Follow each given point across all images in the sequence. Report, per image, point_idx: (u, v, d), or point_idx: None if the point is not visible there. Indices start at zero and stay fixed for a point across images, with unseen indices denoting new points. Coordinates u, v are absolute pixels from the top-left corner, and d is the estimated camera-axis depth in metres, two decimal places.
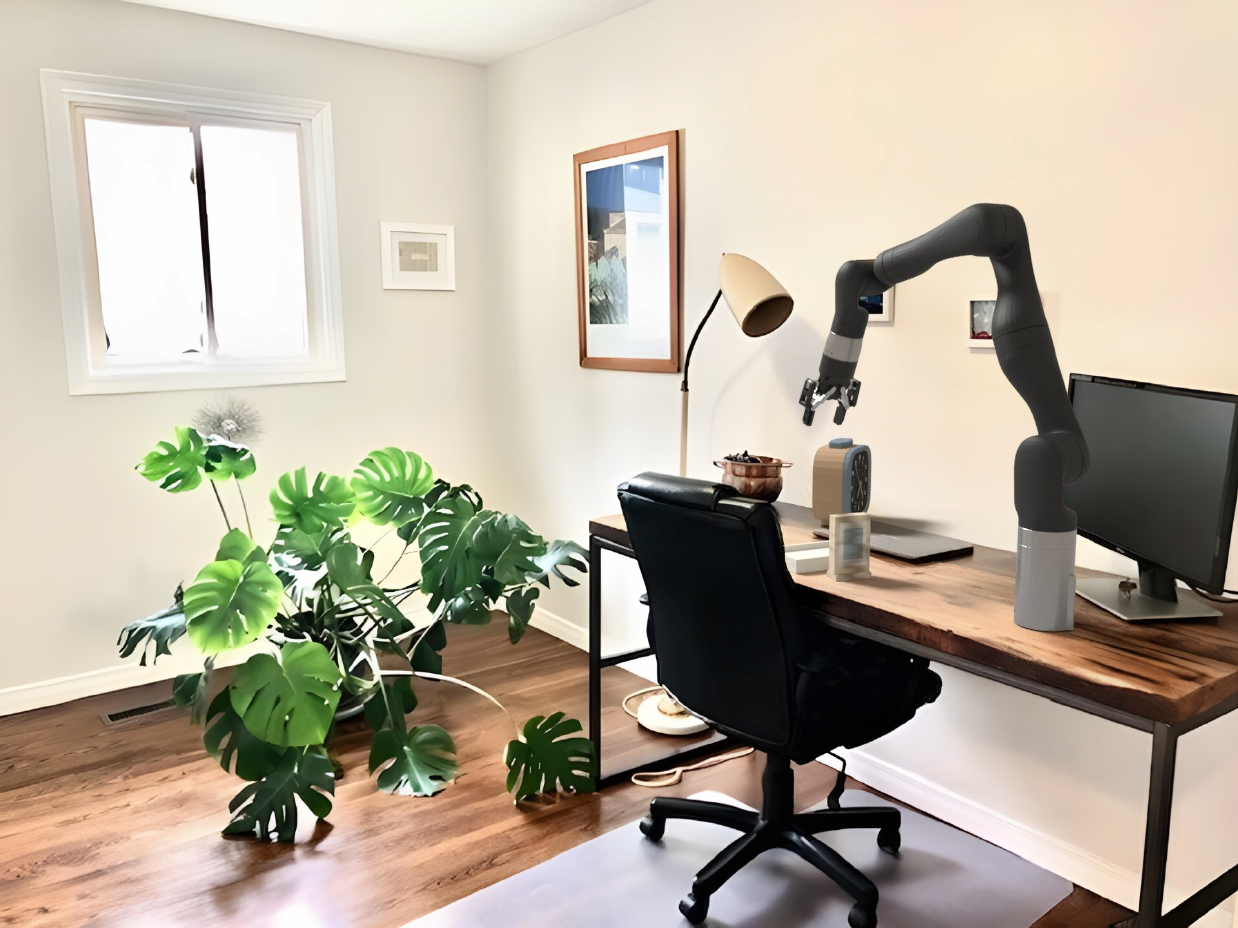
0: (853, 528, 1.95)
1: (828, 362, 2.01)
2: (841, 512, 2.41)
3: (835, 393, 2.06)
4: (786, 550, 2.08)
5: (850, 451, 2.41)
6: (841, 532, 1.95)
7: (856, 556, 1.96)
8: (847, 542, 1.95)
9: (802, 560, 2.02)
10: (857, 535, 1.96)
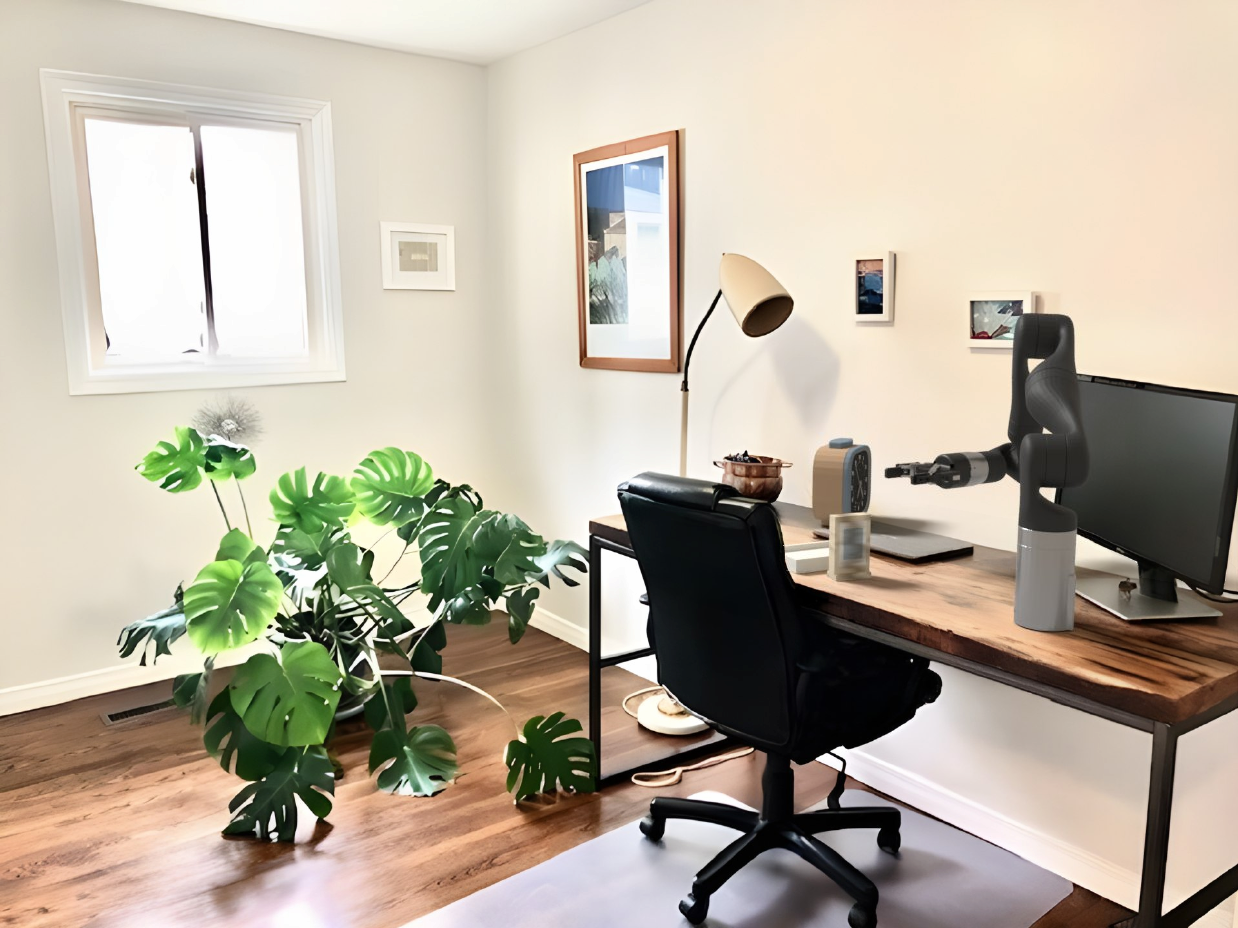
0: (853, 528, 1.95)
1: None
2: (841, 512, 2.41)
3: (930, 468, 2.02)
4: (786, 550, 2.08)
5: (850, 451, 2.41)
6: (841, 532, 1.95)
7: (856, 556, 1.96)
8: (847, 542, 1.95)
9: (802, 560, 2.02)
10: (857, 535, 1.96)
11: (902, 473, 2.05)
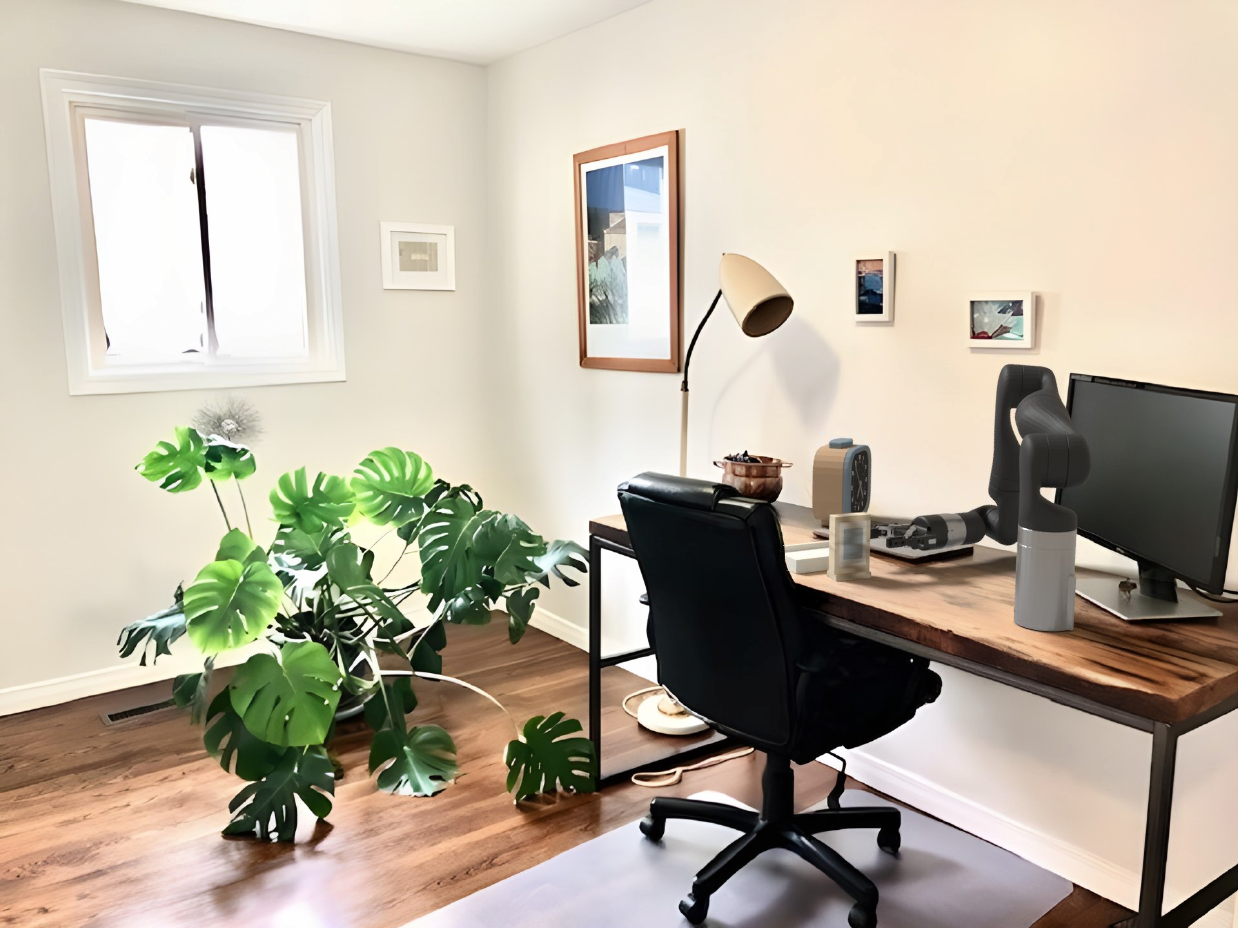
0: (853, 528, 1.95)
1: None
2: (841, 512, 2.41)
3: (907, 530, 2.02)
4: (786, 550, 2.08)
5: (850, 451, 2.41)
6: (841, 532, 1.95)
7: (856, 556, 1.96)
8: (847, 542, 1.95)
9: (802, 560, 2.02)
10: (857, 535, 1.96)
11: (879, 534, 2.05)
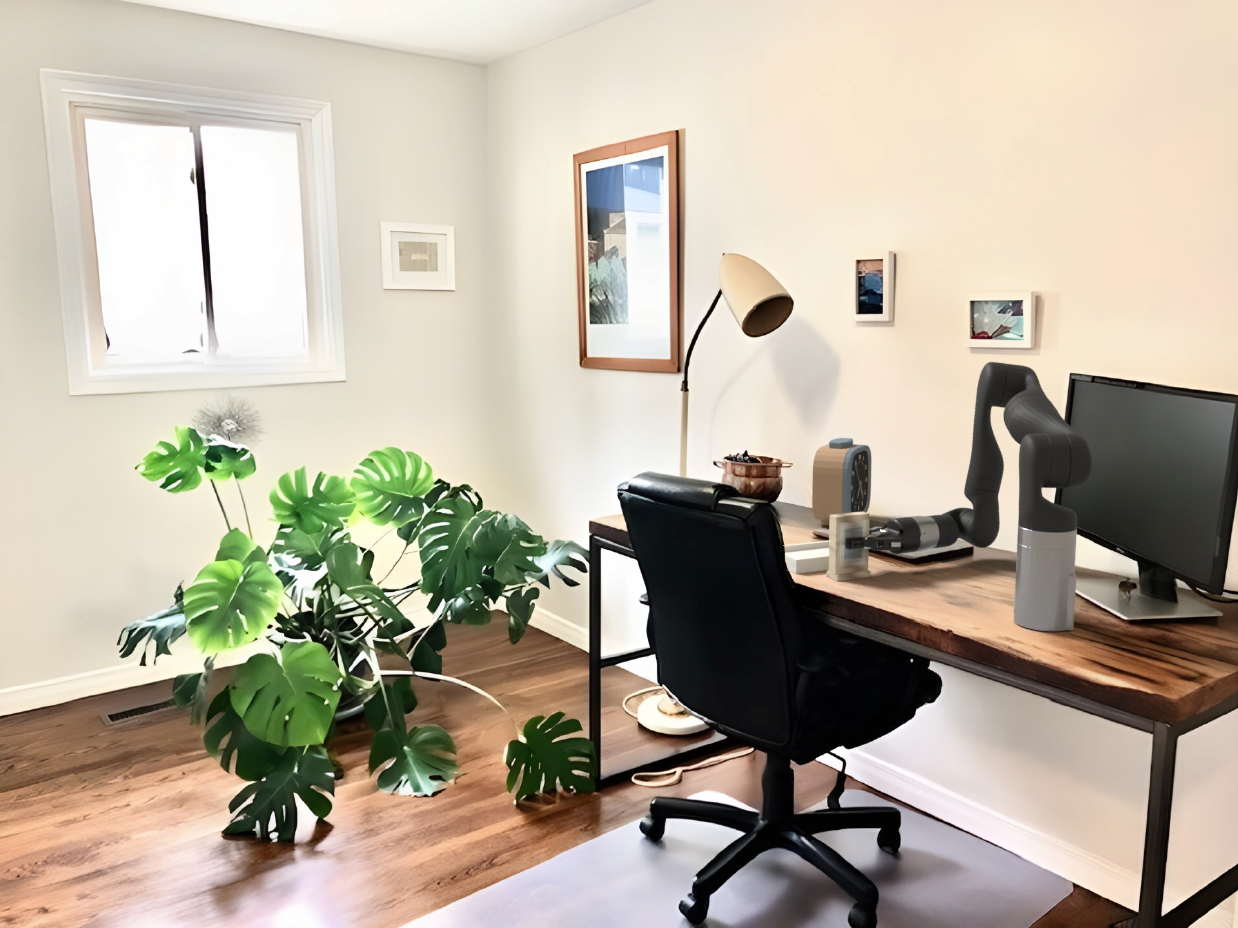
0: (853, 528, 1.96)
1: None
2: (841, 512, 2.41)
3: None
4: (786, 550, 2.08)
5: (850, 451, 2.41)
6: (842, 532, 1.95)
7: (856, 555, 1.97)
8: None
9: (802, 560, 2.02)
10: (857, 534, 1.96)
11: None
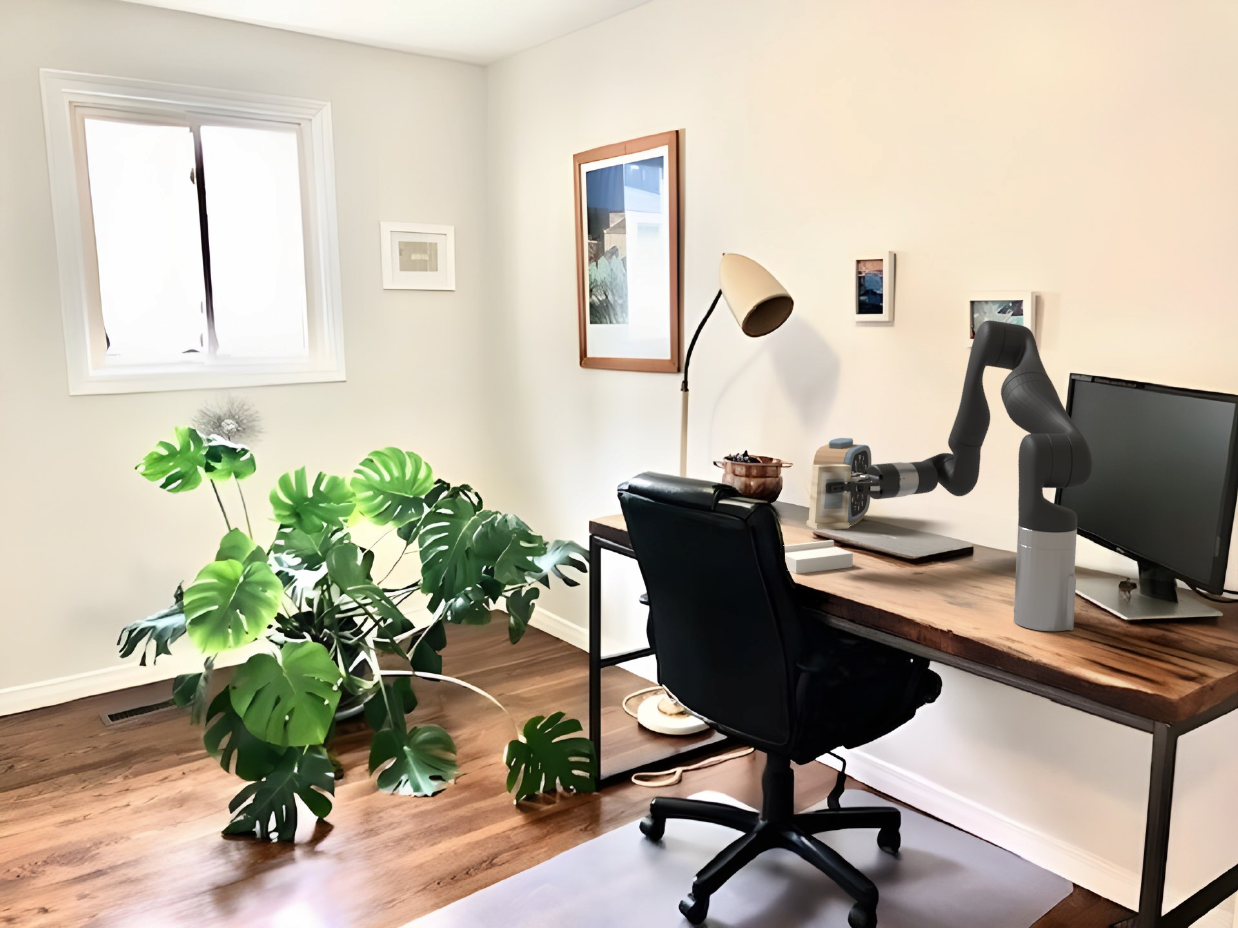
0: (835, 478, 2.00)
1: None
2: None
3: None
4: (786, 550, 2.08)
5: (850, 451, 2.41)
6: (823, 481, 2.00)
7: (836, 506, 2.01)
8: None
9: (802, 560, 2.02)
10: None
11: None
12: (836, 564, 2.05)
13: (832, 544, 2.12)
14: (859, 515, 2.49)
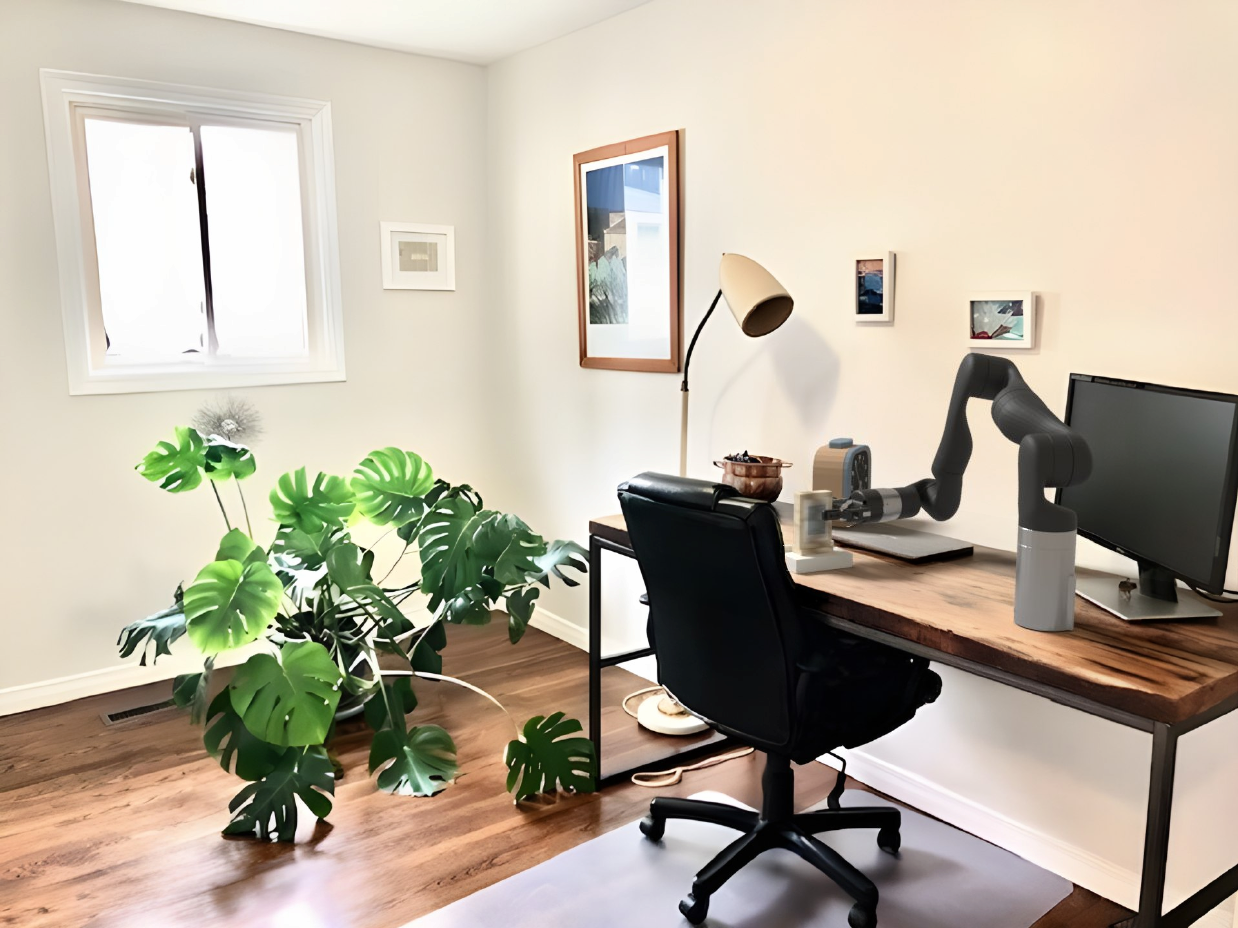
0: (816, 505, 2.04)
1: None
2: None
3: (843, 504, 2.08)
4: (786, 550, 2.08)
5: (850, 451, 2.41)
6: (805, 509, 2.04)
7: (819, 532, 2.06)
8: (811, 518, 2.04)
9: (802, 560, 2.02)
10: (820, 511, 2.05)
11: None
12: (836, 564, 2.05)
13: (832, 544, 2.12)
14: None
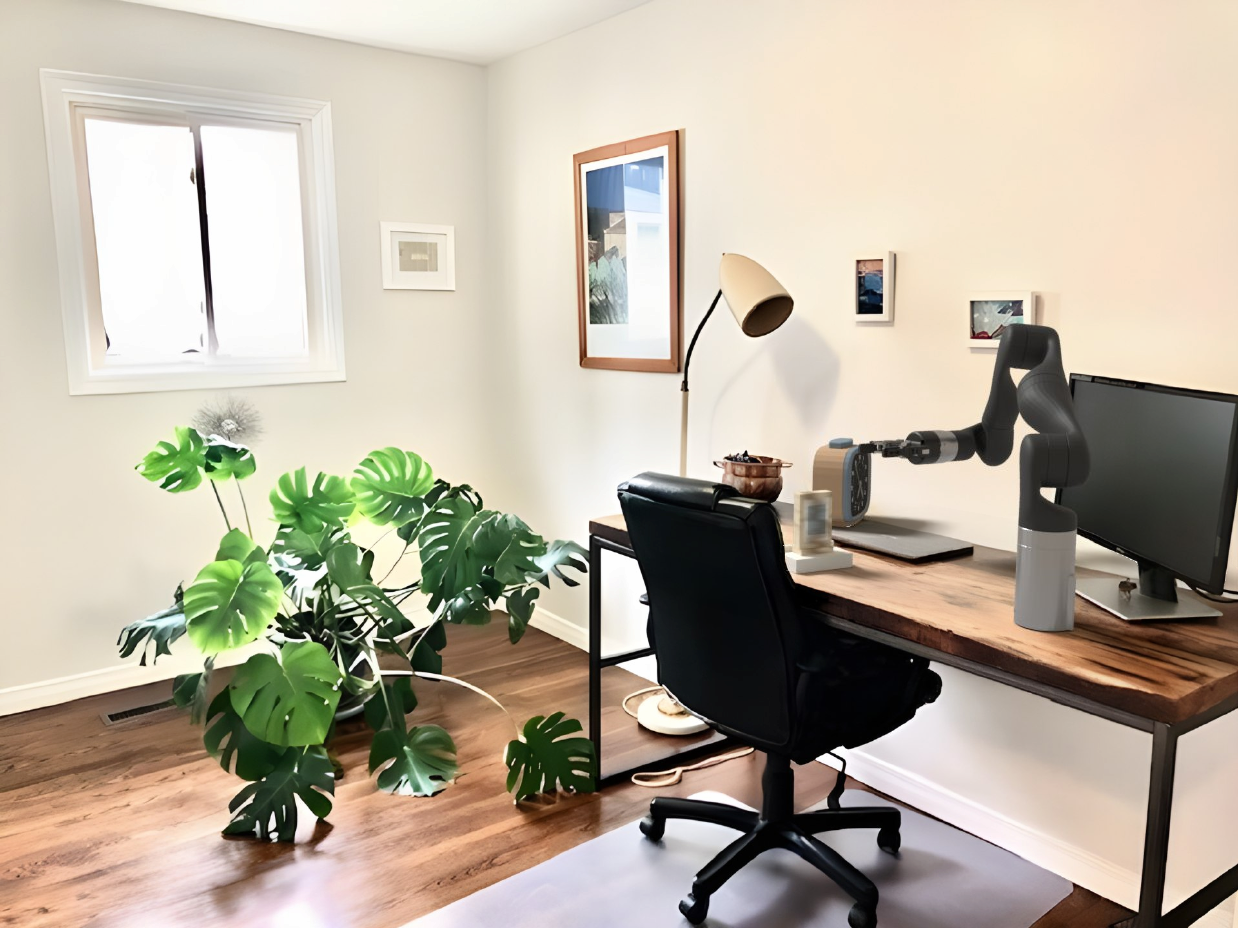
0: (816, 505, 2.04)
1: None
2: (841, 512, 2.41)
3: None
4: (786, 550, 2.08)
5: (850, 451, 2.41)
6: (805, 509, 2.04)
7: (819, 532, 2.06)
8: (811, 518, 2.04)
9: (802, 560, 2.02)
10: (820, 511, 2.05)
11: (875, 449, 2.14)
12: (836, 564, 2.05)
13: (832, 544, 2.12)
14: (859, 515, 2.49)
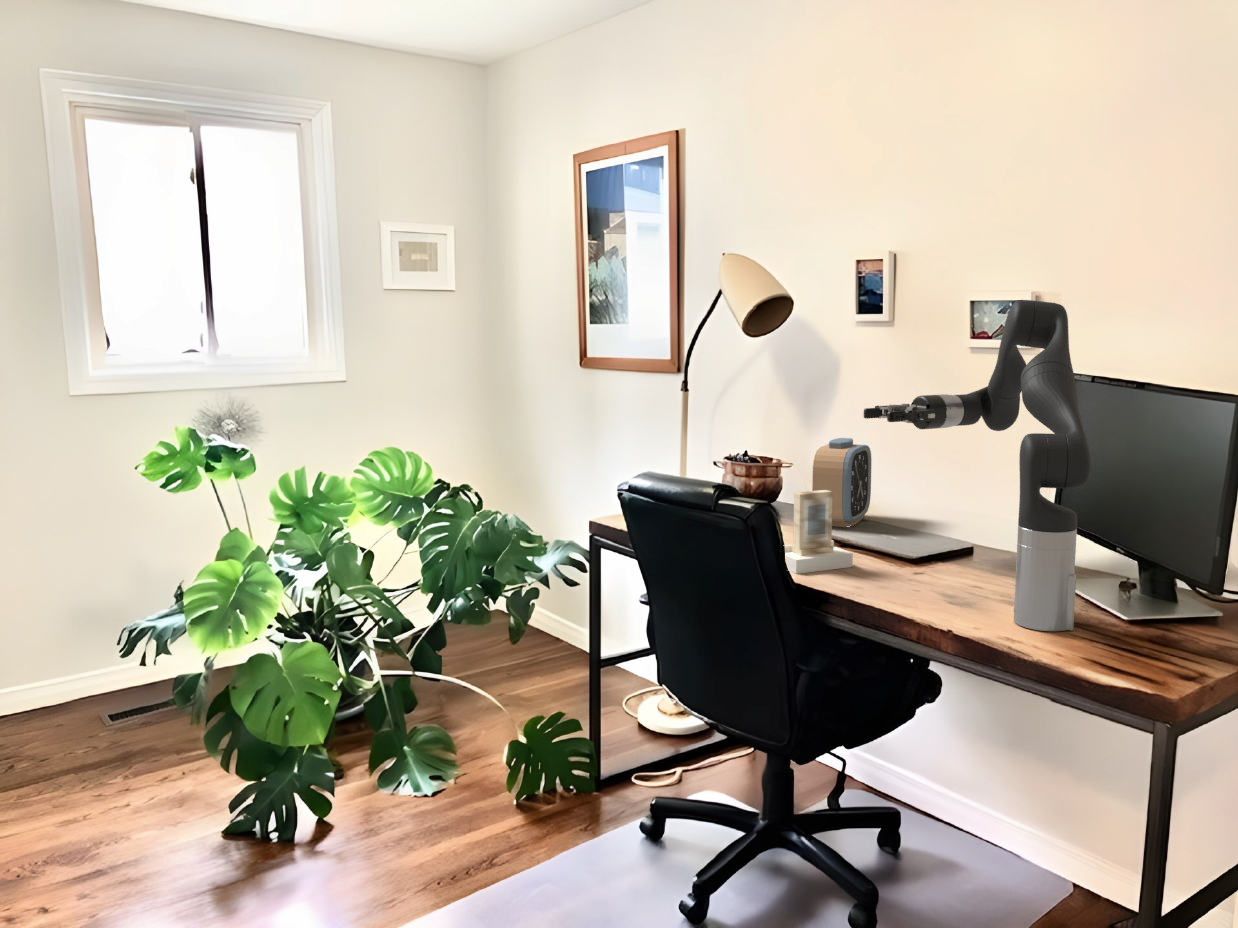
0: (816, 505, 2.04)
1: None
2: (841, 512, 2.41)
3: (907, 408, 2.10)
4: (786, 550, 2.08)
5: (850, 451, 2.41)
6: (805, 509, 2.04)
7: (819, 532, 2.06)
8: (811, 518, 2.04)
9: (802, 560, 2.02)
10: (820, 511, 2.05)
11: (881, 414, 2.14)
12: (836, 564, 2.05)
13: (832, 544, 2.12)
14: (859, 515, 2.49)
